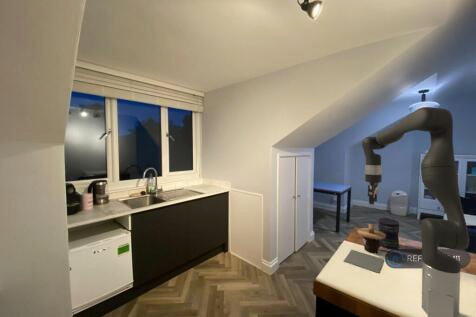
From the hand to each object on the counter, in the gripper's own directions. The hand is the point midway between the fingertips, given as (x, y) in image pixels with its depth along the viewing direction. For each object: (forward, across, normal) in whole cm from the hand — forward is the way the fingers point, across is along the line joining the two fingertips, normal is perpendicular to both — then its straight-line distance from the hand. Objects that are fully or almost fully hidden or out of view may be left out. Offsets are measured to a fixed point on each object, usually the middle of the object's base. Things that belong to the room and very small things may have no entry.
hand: (373, 202), depth 109 cm
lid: (+18, 0, +1) cm, 18 cm away
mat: (+28, -12, +2) cm, 31 cm away
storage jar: (+28, +15, -5) cm, 32 cm away
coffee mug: (+28, +1, +1) cm, 28 cm away
